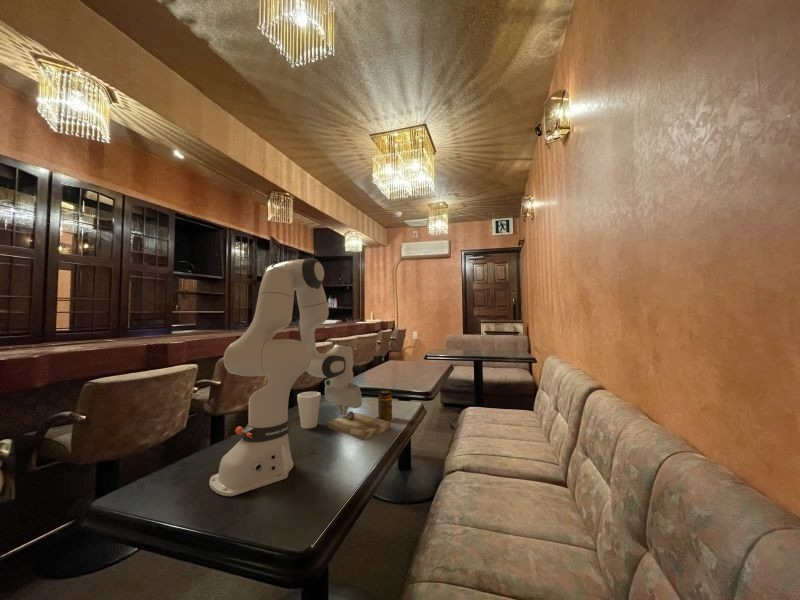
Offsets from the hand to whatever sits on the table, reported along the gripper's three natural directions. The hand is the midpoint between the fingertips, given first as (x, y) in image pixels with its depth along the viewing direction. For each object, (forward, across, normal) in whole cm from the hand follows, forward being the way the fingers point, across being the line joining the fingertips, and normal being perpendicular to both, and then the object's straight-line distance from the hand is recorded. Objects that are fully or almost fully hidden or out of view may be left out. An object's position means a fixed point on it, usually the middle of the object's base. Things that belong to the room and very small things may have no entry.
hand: (343, 414), depth 139 cm
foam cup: (+4, +9, +11) cm, 14 cm away
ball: (-1, -5, 0) cm, 5 cm away
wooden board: (+4, -10, 0) cm, 10 cm away
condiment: (+4, -10, -14) cm, 18 cm away
